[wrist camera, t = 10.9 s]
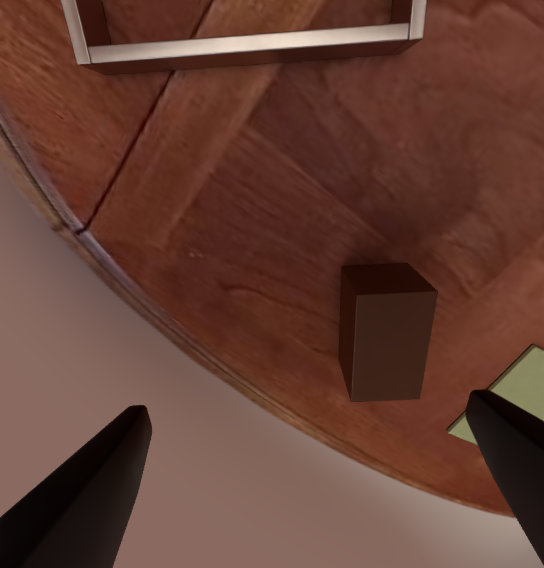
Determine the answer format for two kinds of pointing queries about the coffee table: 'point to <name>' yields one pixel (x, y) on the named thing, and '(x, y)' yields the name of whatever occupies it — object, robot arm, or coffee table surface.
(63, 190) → the coffee table surface
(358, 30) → the rectangular frame
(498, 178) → the coffee table surface
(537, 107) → the coffee table surface
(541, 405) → the sticky note pad
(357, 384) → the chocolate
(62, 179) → the coffee table surface
